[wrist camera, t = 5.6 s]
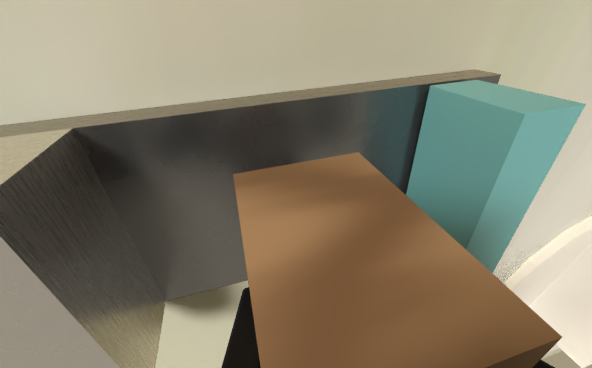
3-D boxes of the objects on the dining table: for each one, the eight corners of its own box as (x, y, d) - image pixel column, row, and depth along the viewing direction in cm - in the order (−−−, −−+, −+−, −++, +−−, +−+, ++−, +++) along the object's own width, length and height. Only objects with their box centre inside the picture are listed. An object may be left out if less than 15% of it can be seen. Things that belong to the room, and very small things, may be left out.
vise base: (475, 69, 14) (624, 97, 9) (431, 215, 19) (508, 283, 14) (-28, 128, 9) (-291, 251, 4) (99, 296, 15) (43, 435, 10)
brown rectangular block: (358, 152, 8) (562, 337, 4) (345, 299, 13) (428, 473, 8) (233, 174, 8) (272, 450, 3) (264, 323, 12) (301, 532, 7)
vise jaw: (477, 79, 12) (585, 104, 8) (427, 238, 17) (481, 292, 14) (430, 85, 11) (525, 114, 8) (394, 246, 17) (442, 305, 13)
